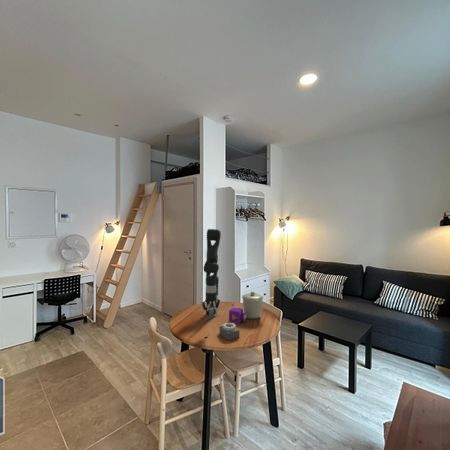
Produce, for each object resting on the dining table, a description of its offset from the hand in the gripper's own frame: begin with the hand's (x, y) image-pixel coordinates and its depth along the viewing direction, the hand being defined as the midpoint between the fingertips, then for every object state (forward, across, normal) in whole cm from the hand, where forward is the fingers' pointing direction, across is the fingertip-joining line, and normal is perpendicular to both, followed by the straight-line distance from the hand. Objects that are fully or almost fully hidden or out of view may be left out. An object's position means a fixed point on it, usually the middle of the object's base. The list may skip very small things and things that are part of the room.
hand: (210, 314), depth 172 cm
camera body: (+13, -10, +10) cm, 19 cm away
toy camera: (+14, -28, -8) cm, 32 cm away
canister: (+14, -44, -12) cm, 47 cm away
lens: (+2, 0, 0) cm, 2 cm away
